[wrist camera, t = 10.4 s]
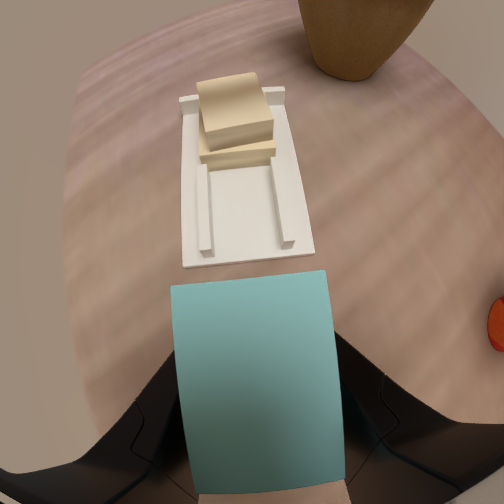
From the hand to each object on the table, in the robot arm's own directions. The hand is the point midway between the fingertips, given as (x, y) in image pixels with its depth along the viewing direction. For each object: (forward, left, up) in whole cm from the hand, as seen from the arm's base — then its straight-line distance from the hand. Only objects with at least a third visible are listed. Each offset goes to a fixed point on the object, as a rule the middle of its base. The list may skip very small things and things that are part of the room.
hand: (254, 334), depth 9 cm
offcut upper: (+14, +9, -9) cm, 19 cm away
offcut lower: (+14, +9, -11) cm, 20 cm away
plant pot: (+32, +4, -12) cm, 35 cm away
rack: (+11, +7, -12) cm, 18 cm away
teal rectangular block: (-1, -1, -6) cm, 6 cm away
